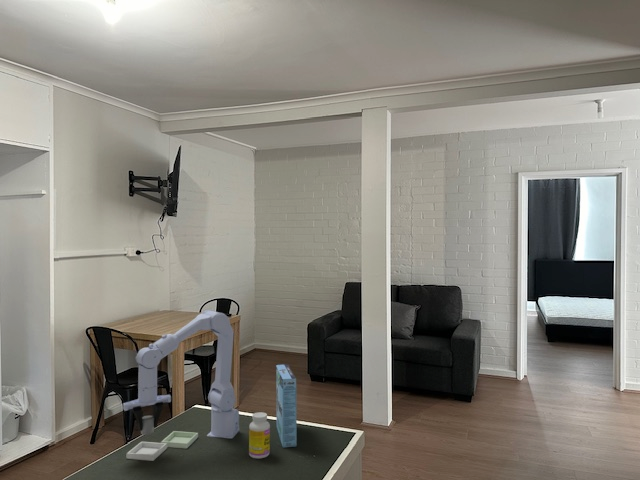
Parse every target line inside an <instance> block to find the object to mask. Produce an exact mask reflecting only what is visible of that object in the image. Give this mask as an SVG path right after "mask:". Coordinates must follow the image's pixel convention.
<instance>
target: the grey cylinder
mask: <svg viewBox="0 0 640 480" xmlns="http://www.w3.org/2000/svg"><path fill="white" fill-rule="evenodd" d="M153 433H155V427H154V416H153V415H143V416H142V431H140V434H141V435H144V436H145V435H146V436H147V435H148V436H149V435H151V434H153Z"/></svg>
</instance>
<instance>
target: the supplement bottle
mask: <svg viewBox="0 0 640 480" xmlns="http://www.w3.org/2000/svg"><path fill="white" fill-rule="evenodd" d="M267 419H268V414H267V413H266V412H261V411H260V412H259V411H258V412H255V413H253V414H252V421H251V422H250V423H249V426H248V429H249V431H248V455H249V456H250V458H252V459H263V458H267V457H268V456H269V455H270V450H271V448H270V447H271V446H270V444H271V442H270V441H271V437H270V436H271V433H270V432H271V425H270V422H269V421H267Z"/></svg>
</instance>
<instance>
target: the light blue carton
mask: <svg viewBox="0 0 640 480" xmlns="http://www.w3.org/2000/svg"><path fill="white" fill-rule="evenodd" d="M275 367H276V368H275V369H276V370H275V372H276V377H275V378H276V382H275V383H276V384H275V385H276V389H275V390H276V393H275V394H276V397H275V398H276V430H277V433H278V436H279V439H280V443H281V446H282V448H292V447H297V431H298V430H297V429H298V428H297V378H296V376H295V374H294V372H293V371H292V369H291V368H290V365H289V364H277V365H275Z"/></svg>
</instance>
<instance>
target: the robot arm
mask: <svg viewBox="0 0 640 480" xmlns="http://www.w3.org/2000/svg"><path fill="white" fill-rule="evenodd" d="M230 321H231V318H230V317H229V316H227V314H225V313H224V312H218V311H216V310H215V311H214V310H212V309H206V310H204V311H203V312H202V313H199V314H198V315H196V317H195V318H193V319H192V320H191V321H189V322H188V323H187V324H185V325H184V326H183V327H181V328H180V329H178V330H177V331H175V332H174V333H167V334H165V333H164V334H162V335H161V338H159V339H158V340H156V341H154V342H153V343H149V344H148V347H146V346H145V347H143V348H140V349H139V350H138V352H137V354H136V356H135V361H136V363H137V364H138V373H137V374H138V376H137V377H138V380H137V382H138V383H137V389H138V391H137V392H138V393H137V397H138V398H137V399H134V400H130V401H126V402H123V403H122V409H123V411H124V412H126V411H129V410H131V412H132V413H133V414H134V418H135V420H136V424H137V430H138V431H140V432H141V431H142V417H144V415H143V414H144V411H143V410H142V409H143V407H148V406H151V408H152V416H154V429H155V428H157V427H158V423H159V420H160V417H161V414H162V413H163V410H164V408H165V404H164V403H171V402H172V396H171V394H166V395H165V394H164V395H158V366H159V365H160V362H161V360H162V359H164V358H165V357H166V356H168V355H169V354H171V353H172V352H174V351H175V350H177V349H178V348H179V345H180V343H181V342H182V341H184V340H186V339H188V338H190V337H191V336H192V335H194V334H195V333H197V332H199V331H212V332H213V334H214V335H215V336H217V347H216V358H215V359H216V361H215V375H214V376H215V378H214V381H213V382H212V384H211V386H210V390H209V393H208V396H207V399H208V402H209V403H210V404H211V409H210V412H211V415H210V416H211V417H210V420H211V421H210V422H211V423H210V425H211V429H210V432H209V433H208V434H206V437H208V438H210V437H211V438H224V439H234V438H235V436H236V435H237V434H238V433H239V432H240V411H239V409H236V408H234V406H235V404H236V399H237V398H236V396H235V389H234V386H233V385H232V382H231V377H232V364H233V363H232V361H233V348H234V347H233V346H234V329H233V327H232V325H231V323H230Z"/></svg>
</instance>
